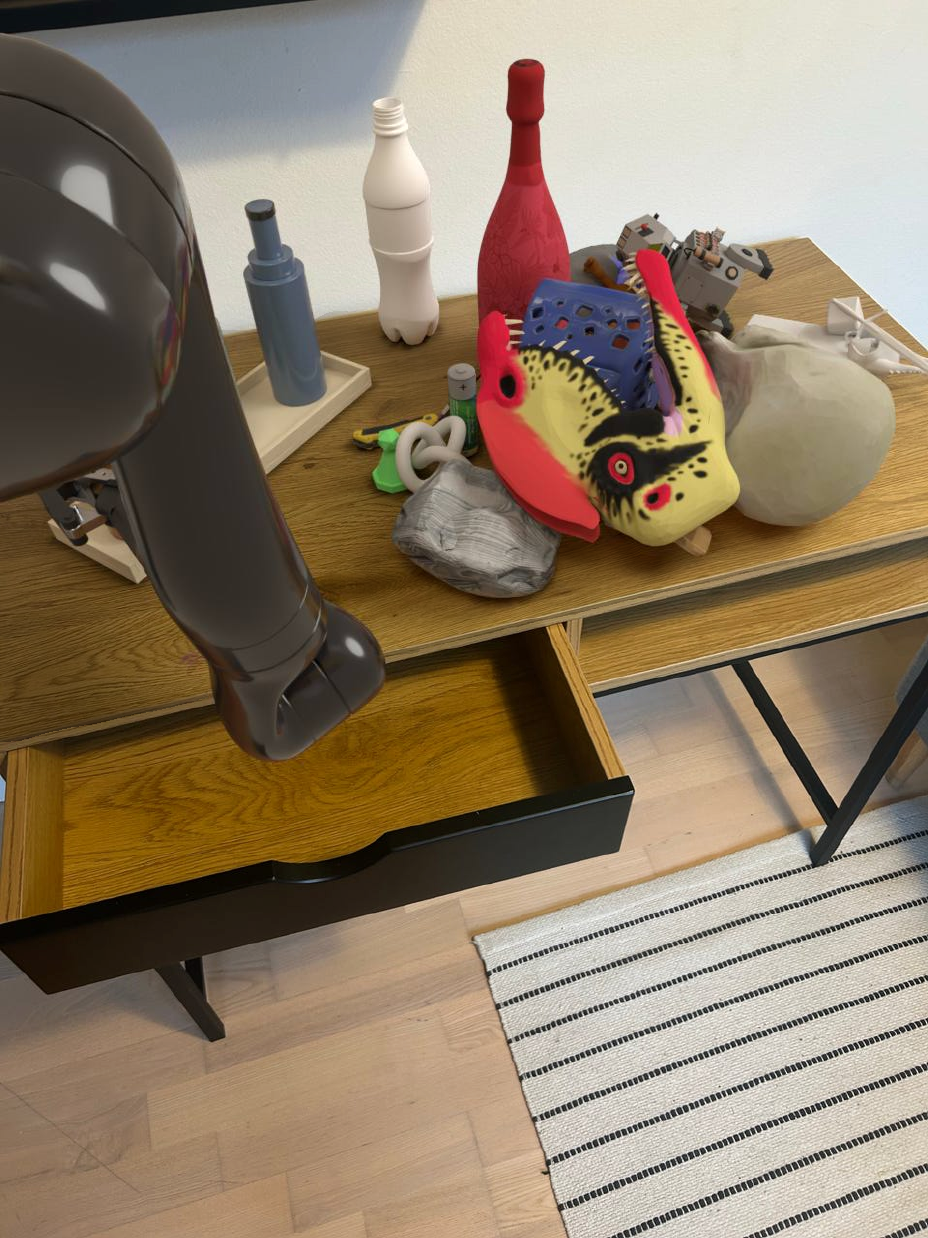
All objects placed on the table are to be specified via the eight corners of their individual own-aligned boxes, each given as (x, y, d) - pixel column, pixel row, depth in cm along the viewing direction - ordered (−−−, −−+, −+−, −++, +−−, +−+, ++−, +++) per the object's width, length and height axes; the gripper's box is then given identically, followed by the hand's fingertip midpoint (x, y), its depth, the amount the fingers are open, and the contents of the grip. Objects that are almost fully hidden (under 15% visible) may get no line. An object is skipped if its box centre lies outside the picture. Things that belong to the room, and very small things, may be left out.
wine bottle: (532, 327, 102) (538, 34, 80) (583, 365, 97) (606, 62, 74) (463, 355, 99) (449, 58, 76) (512, 396, 94) (512, 89, 71)
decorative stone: (587, 583, 73) (527, 626, 81) (552, 444, 77) (498, 498, 85) (436, 581, 66) (386, 628, 74) (406, 428, 70) (362, 488, 78)
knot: (490, 476, 86) (501, 431, 82) (447, 520, 81) (456, 475, 77) (428, 442, 88) (436, 396, 83) (383, 483, 83) (388, 437, 79)
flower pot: (623, 484, 85) (663, 400, 90) (624, 385, 74) (670, 295, 79) (502, 452, 90) (547, 374, 95) (486, 354, 79) (538, 271, 84)
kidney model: (539, 299, 95) (561, 198, 104) (527, 348, 101) (549, 249, 110) (674, 330, 95) (685, 227, 104) (653, 378, 102) (666, 277, 110)
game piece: (424, 478, 85) (420, 429, 81) (391, 499, 83) (384, 450, 79) (397, 459, 87) (391, 410, 83) (364, 478, 86) (355, 429, 81)
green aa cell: (433, 428, 87) (461, 393, 84) (430, 425, 87) (458, 390, 84) (459, 404, 93) (486, 370, 90) (456, 401, 93) (483, 367, 90)
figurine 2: (719, 385, 95) (967, 437, 84) (728, 319, 89) (994, 366, 79) (756, 331, 102) (990, 373, 91) (766, 266, 96) (1017, 303, 85)
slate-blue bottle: (268, 406, 93) (219, 220, 78) (279, 374, 97) (235, 191, 81) (322, 406, 93) (285, 219, 77) (331, 374, 96) (297, 190, 81)
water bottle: (370, 344, 102) (338, 112, 82) (396, 313, 106) (370, 86, 87) (426, 354, 100) (405, 120, 80) (450, 322, 104) (435, 93, 85)
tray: (137, 584, 78) (128, 566, 76) (56, 539, 82) (46, 521, 80) (372, 385, 96) (369, 367, 94) (296, 357, 100) (292, 339, 99)
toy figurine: (627, 373, 99) (655, 335, 102) (646, 360, 96) (674, 321, 98) (553, 299, 97) (583, 262, 99) (569, 282, 93) (600, 244, 96)
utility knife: (492, 388, 92) (504, 403, 91) (492, 398, 93) (504, 413, 92) (350, 431, 89) (360, 447, 87) (352, 441, 90) (362, 457, 88)
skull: (615, 416, 85) (783, 486, 90) (651, 496, 70) (850, 574, 75) (694, 269, 77) (874, 353, 82) (753, 324, 63) (968, 423, 67)
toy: (663, 216, 73) (439, 291, 74) (779, 491, 64) (524, 569, 66) (658, 273, 80) (453, 340, 81) (762, 528, 71) (532, 597, 73)
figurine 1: (756, 227, 99) (642, 180, 95) (780, 278, 92) (657, 230, 87) (712, 295, 105) (603, 255, 101) (731, 349, 98) (615, 307, 94)
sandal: (574, 431, 78) (541, 477, 79) (700, 525, 70) (661, 574, 71) (607, 453, 83) (576, 495, 85) (728, 543, 75) (692, 588, 76)
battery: (465, 460, 87) (461, 380, 80) (446, 449, 88) (441, 369, 81) (483, 448, 88) (481, 367, 81) (465, 437, 89) (461, 357, 82)
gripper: (263, 457, 62) (170, 359, 70) (73, 546, 57) (-3, 429, 65) (284, 532, 68) (196, 433, 76) (113, 619, 62) (39, 502, 71)
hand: (104, 431), depth 71 cm, fingers open, 8 cm apart
